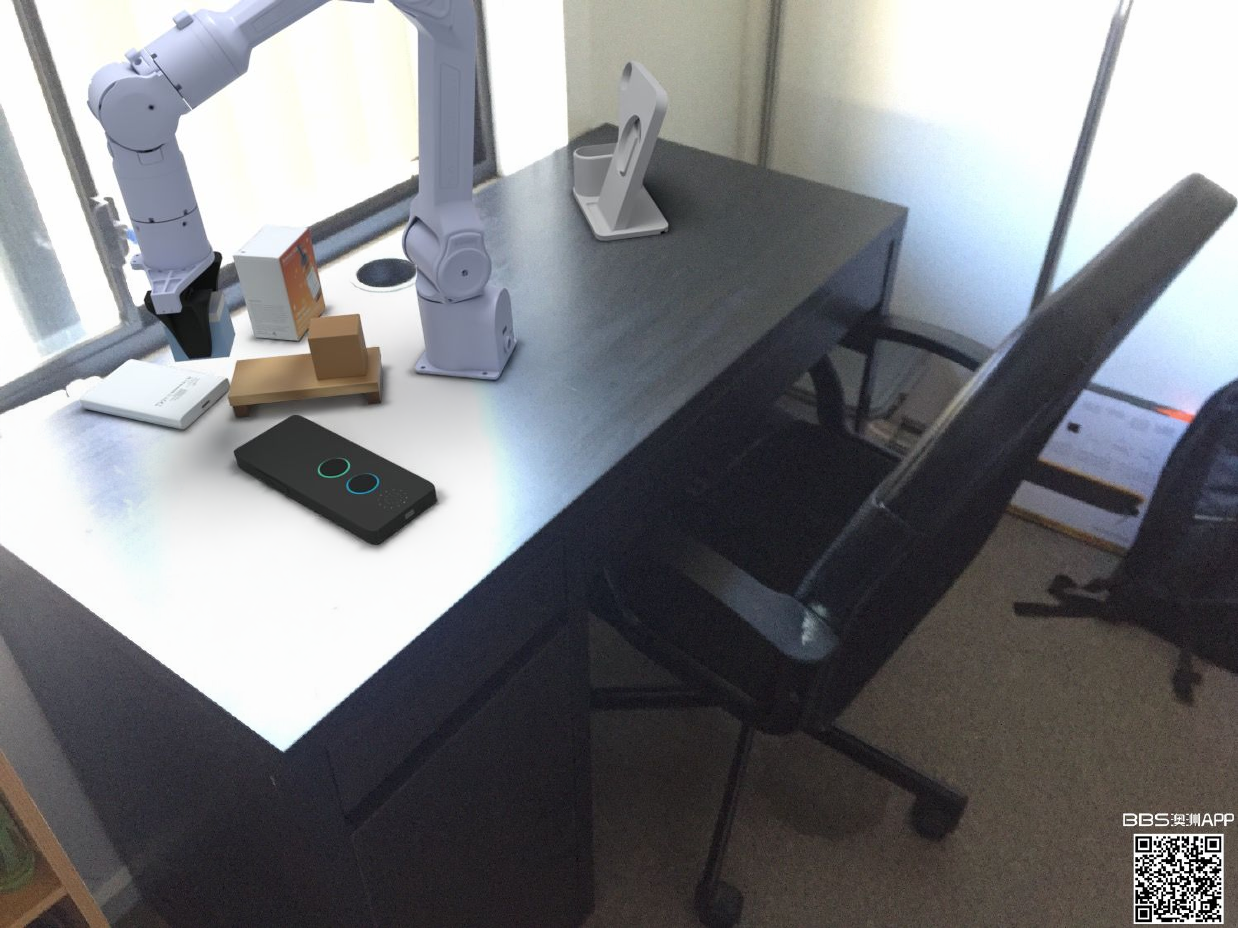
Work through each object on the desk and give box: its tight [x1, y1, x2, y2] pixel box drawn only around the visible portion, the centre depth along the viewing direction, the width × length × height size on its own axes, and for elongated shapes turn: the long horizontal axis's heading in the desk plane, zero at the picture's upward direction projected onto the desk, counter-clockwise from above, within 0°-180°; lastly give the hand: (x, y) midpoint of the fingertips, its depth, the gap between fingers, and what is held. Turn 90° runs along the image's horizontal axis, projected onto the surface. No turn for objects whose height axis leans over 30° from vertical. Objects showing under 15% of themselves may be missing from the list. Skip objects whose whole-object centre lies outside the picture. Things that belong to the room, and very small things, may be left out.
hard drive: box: [79, 358, 231, 430], centre depth 111 cm, size 2×8×12 cm
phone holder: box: [572, 59, 669, 242], centre depth 140 cm, size 17×10×18 cm, turn 14°
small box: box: [232, 224, 327, 341], centre depth 120 cm, size 8×6×10 cm
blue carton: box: [161, 290, 236, 363], centre depth 99 cm, size 5×4×5 cm
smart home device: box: [233, 414, 438, 545], centre depth 99 cm, size 8×2×20 cm
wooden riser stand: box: [227, 346, 384, 419], centre depth 111 cm, size 15×7×3 cm, turn 99°
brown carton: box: [307, 313, 367, 380], centre depth 109 cm, size 5×4×5 cm
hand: (204, 342), depth 100 cm, fingers closed on blue carton, 4 cm apart
